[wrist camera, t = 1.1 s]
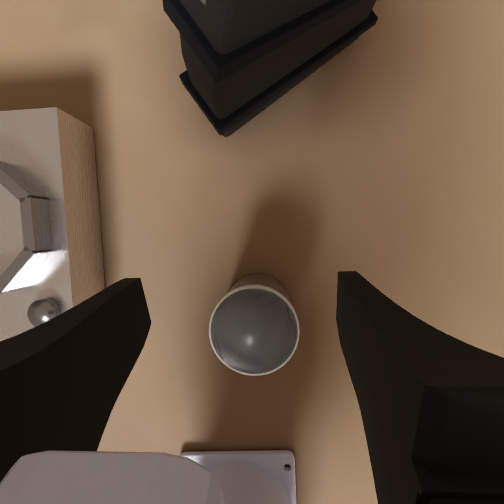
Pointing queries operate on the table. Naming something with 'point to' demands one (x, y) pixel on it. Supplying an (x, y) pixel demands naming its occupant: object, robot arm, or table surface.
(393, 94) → the table surface
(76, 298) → the square base socket
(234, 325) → the cup
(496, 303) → the table surface
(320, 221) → the table surface
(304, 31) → the dark angular piece
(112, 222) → the table surface
